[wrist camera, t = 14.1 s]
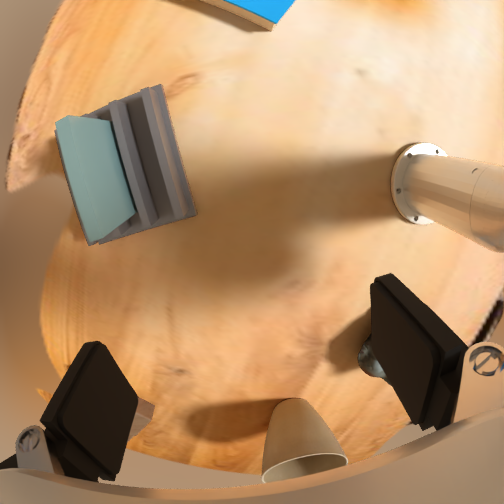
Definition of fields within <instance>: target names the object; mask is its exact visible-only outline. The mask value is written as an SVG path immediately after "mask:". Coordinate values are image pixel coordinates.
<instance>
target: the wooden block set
mask: <svg viewBox="0 0 504 504" xmlns="http://www.w3.org/2000/svg"><path fill="white" fill-rule="evenodd" d="M154 407H155V406H154V405H153V404H151V403H149V402H147V401H145V400H143V399H141V398H139V397H138V406H137V409H136V413H135V416H134V420H133V423H132V427H131V430H130V434H129V437H128V441H129V440H130V439H131V438H132V437H133V436H136V435H137V434H138V433H139V432H140V431H141V430H142V429H143V428H144V427H145V426H146V425H147V424H148V423H149V422H150V421H151V420H152V416H153V412H154ZM128 441H127V442H128Z"/></svg>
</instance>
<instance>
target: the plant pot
mask: <svg viewBox="0 0 504 504" xmlns="http://www.w3.org/2000/svg"><path fill="white" fill-rule="evenodd" d="M347 464H348V459H347V457H346V455H345V453H344V451H343V449H342V448H341V446H340V444H339V442H338V441H337V439H336V437H335V436H334V434H333V433H332V431H331V430H330V428H329V427H328V425H327V424H326V423H325V421H324V420H323V419H322V417H321V416H320V415H319V414H318V413H317V411H316V410H315V409H314V408H313V407H312V406H311V405H310V404H309V403H308V402H307V401H306V400H304V399H300V398H292V399H287V400H285V401H282V402H280V403H279V404H278V405H277V406H276V407H275V408H274V410H273V413H272V416H271V420H270V423H269V427H268V431H267V435H266V440H265V446H264V452H263V462H262V477H261V478H262V482H263V483H270V482H277V481H282V480H288V479H293V478H298V477H303V476H307V475H312V474H316V473H320V472H324V471H328V470H332V469H335V468H339V467H342V466H346V465H347Z"/></svg>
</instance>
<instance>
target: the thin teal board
mask: <svg viewBox="0 0 504 504" xmlns="http://www.w3.org/2000/svg"><path fill="white" fill-rule="evenodd" d="M55 124H56V129H57V134H58V138H59V143H60V147H61V151H62V155H63V159H64V163H65V167H66V171H67V174H68V178H69V181H70V185H71V188H72V192H73V195H74V198H75V201H76V204H77V207H78V210H79V213H80V216H81V219H82V222H83V225H84V228H85V231H86V233H87V236H88V239H89V241H90V242H92V241H95V240H98V239H101V238H104V237H105V236H106V235H108V234H109V233H110V232H111V231H113V230H114V229H115V228H117V227H118V226H119V225H121V224H122V223H123V222H125V221H126V220H127V219H129V218H130V217H131V216H133V215H134V214H135V213H137V212H138V210H137V207H136V204H135V201H134V197H133V194H132V191H131V188H130V184H129V181H128V178H127V174H126V171H125V167H124V164H123V160H122V156H121V153H120V149H119V145H118V141H117V137H116V133H115V129H114V125H113V121H107V120H101V119H94V118H86V117H79V116H70V115H68V116H66V117H64V118H62V119H61V120H59V121H57V122H55Z"/></svg>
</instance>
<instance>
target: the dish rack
mask: <svg viewBox="0 0 504 504" xmlns="http://www.w3.org/2000/svg"><path fill="white" fill-rule="evenodd" d="M80 117H86V118H94V119H101V120H107V121H113V125H114V129H115V133H116V137H117V141H118V145H119V149H120V153H121V156H122V160H123V164H124V167H125V171H126V174H127V178H128V181H129V184H130V188H131V191H132V194H133V197H134V201H135V204H136V207H137V210H138V212H137V213H135V214H134V215H133V216H131V217H130V218H129V219H127V220H126V221H125V222H123V223H122V224H121V225H119V226H118V227H117V228H115V229H114V230H113V231H111V232H110V233H109V234H108V235H106V236H105V237H104V238H101V239H98V240H95V241H92V242H90V241H89V239H88V236H87V233H86V231H85V228H84V225H83V222H82V219H81V216H80V213H79V210H78V207H77V204H76V201H75V198H74V195H73V192H72V188H71V185H70V181H69V178H68V174H67V171H66V167H65V163H64V159H63V155H62V151H61V147H60V143H59V138H58V134H57V129H56V130H55V136H56V140H57V145H58V149H59V153H60V157H61V161H62V165H63V169H64V173H65V176H66V180H67V183H68V187H69V190H70V193H71V197H72V200H73V203H74V206H75V209H76V212H77V215H78V218H79V221H80V224H81V227H82V230H83V232H84V235H85V238H86V240H87V243H88V246H91V245H94V244H95V243H97V242H99V245H100V244H103V243H106V242H109V241H112V240H115V239H118V238H121V237H125V236H128V235H131V234H134V233H138V232H141V231H144V230H148V229H151V228H154V227H158V226H161V225H164V224H168V223H171V222H175V221H178V220H182V219H185V218H189V217H193V216H196V215H197V211H196V207H195V204H194V201H193V197H192V194H191V190H190V187H189V183H188V180H187V176H186V173H185V169H184V166H183V162H182V158H181V155H180V151H179V147H178V144H177V140H176V136H175V132H174V129H173V125H172V121H171V117H170V113H169V109H168V105H167V101H166V97H165V93H164V89H163V85H161V84H159V85H156V86H154V87H151V88H150V87H147V88H144V89H141V91H140V92H138V93H135V94H132V95H130V96H128V97H125V98H123V99H120V100H114V101H112V102H110V103H109V105H107V106H104V107H102V108H100V109H98V110H96V111H94V112H92V113H90V114H84V115H82V116H80Z"/></svg>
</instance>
